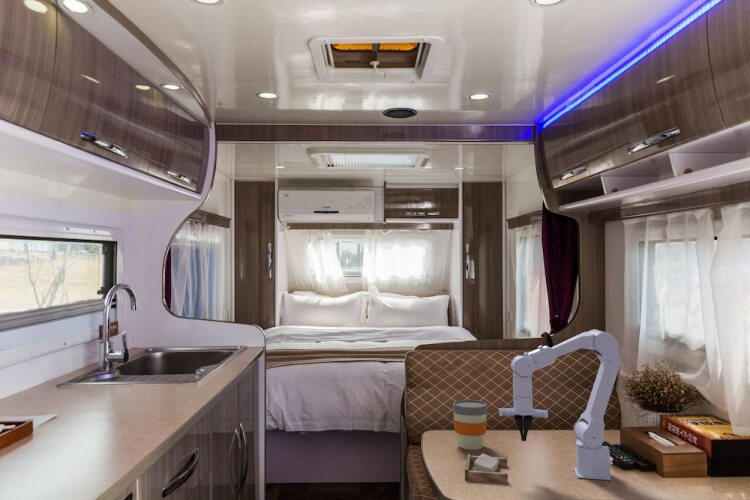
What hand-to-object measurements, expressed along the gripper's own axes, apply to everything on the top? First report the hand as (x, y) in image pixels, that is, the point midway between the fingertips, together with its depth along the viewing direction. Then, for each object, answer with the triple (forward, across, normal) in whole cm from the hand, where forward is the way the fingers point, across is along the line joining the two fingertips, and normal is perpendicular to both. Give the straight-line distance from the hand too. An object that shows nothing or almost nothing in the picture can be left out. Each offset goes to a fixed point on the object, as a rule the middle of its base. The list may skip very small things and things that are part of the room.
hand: (523, 440), depth 170 cm
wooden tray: (+10, -11, -1) cm, 15 cm away
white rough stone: (+11, -12, +1) cm, 16 cm away
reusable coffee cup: (+10, -17, +26) cm, 33 cm away
